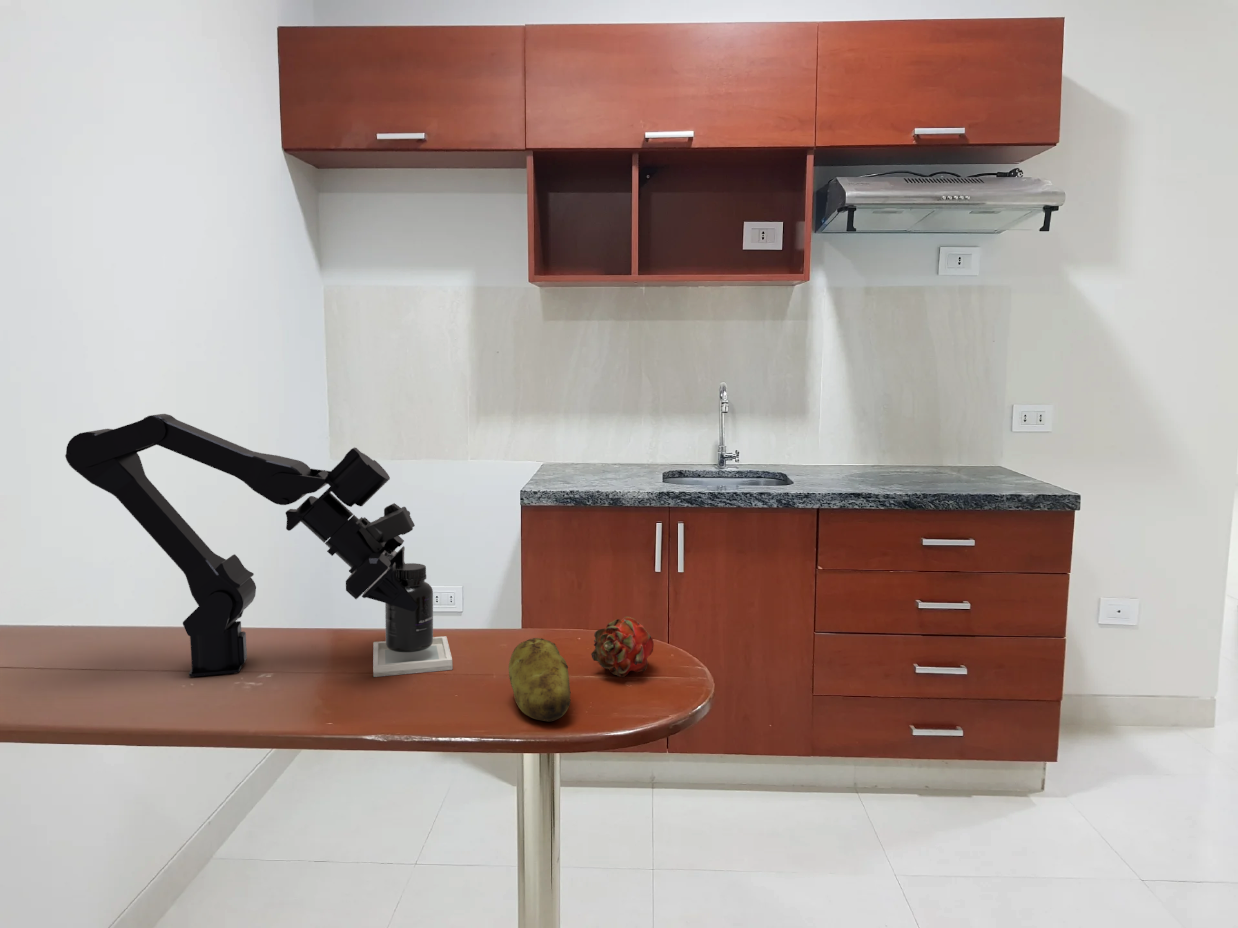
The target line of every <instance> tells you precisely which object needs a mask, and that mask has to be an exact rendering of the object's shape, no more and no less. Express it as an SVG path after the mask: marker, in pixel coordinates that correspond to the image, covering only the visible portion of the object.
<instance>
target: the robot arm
mask: <svg viewBox="0 0 1238 928" xmlns="http://www.w3.org/2000/svg"><path fill="white" fill-rule="evenodd" d="M155 446H159V447H161V448H165V449H167V450H169V451H171V452H174V453H175V454H176V453H177V454H179V455H181V456H184V457H185V458H188V459H191V460H193V461H196V462H199V463H201V464H204V465H206V466H209V467H210V468H212V469H215V470H218V471H221V472H223V473H225V474H228V475H231V476H233V477H235V478H237V479H239V480H240V481H242V482H243V483H244V484H245V485H247V486H248V487H249V488H250V489H251V490H252V491H254V492H255V493H257V494H258V495H260V496H262V497H263V498H264V499H267V500H268V501H270V502H272V503H274V504H276V505H279V506H287V505H291V504H294V503H297V501H299V500H300V499H302V498H304V497H305V496H306V495H308V494H313V493H316V492H318V491H319V490H321V489H322V488H324V487H325V486H326V485H328V486H329V488H327V489H326V490H325V491H324V492H323V493H322V494H321V495H320V496H319V497H316V496H313V495H310V496H308V497H307V499H305V500H304V501H303V502H302V503H301V504H300V505H299V506H298V507H297V508H296V509H295V508H289V509H288V510H286V511H285V515H286V526H285V529H286V530H287V531H292V530H293V529H295V528H296V527H297V526H298V525H299V524H300V523H301V524H303V525H304V526H305V527H306V528H307V529H308V530H309V531H310V532H311V533H312V534H314V535H315V536H316V537H317V538H318V539H319V540H320V541H322V542H323V543H324V544H325V545H326V547H328V550H326V552H327V553H328V554H329V555H331V557H333V556H334V555H335V554H336V556H338V557H339V558H340V559H341V560H342V561H343V562H344V563H345V564H347V565H348V567H350V569H348V572H349V573H350V575H349V576H348V577H347V578H346V580H345V591H346V592H347V593H348V594H349V595H350V596H351V597H353V598H354V599H355V600H357V599H359V597H362V598H363V599H366V598H367V599H370V600H375V601H378V602H381V603H384V604H385V603H387V604H391V605H394V606H397V607H400V608H403V609H406V610H409V611H412V612H413V611H415V610H416V609H417V608H418V604H417V603H416V602H415V600H414V599H413V598H412V596H411V595H410V594H409V593H408V591H407V590H406V589H405V588H404V586H403V585H402V584H401V583H400V581H399V580H398V579H397V578H396V565H399V564H406V562H405V546H404V545H403V544H404V542H405V540H404V539H403V538H402V537H401V536H404V535H406V534H408V533H410V532H411V531H413V529H414V527H415V523H414V521H413V519H412V516H411V511H409V510H408V509H407V507H406V506H402V507H400V506H399V505H398V504H397V503H395V502H394V503H392V504H389V505H388V506H386V507H384V508H383V516H380V517H378V518H377V519H375V520H373V521H370V520H368V518H366V517H363V516H361V517H360V518H358V517H357V516H356V515H355V514H354V513H353V512H352V511H351V510H350V509H349V508H348V507H350V508H351V507H353V506H354V505H356V506H358V507H363V506H364V505H365V504H366V503H367V502H368V501H369V500H370V499H371V498H372V497H373V496H374V495H375V494H376V493H378V491H380V490H381V488H383V486H385V484H387V483H388V482H389V481H390V479H391V478H390V475H389V474H388V472H387V471H386V469H384V467H382V466H381V464H380V463H378V462H377V460H375V459H372V458H371V457H370V456H368V455H367V454H365V453H363V452H362V451H360V450H359V449H358V448H357V447H353V448H351V449H350V450H348V452H347V453H346V454H345V455H344V457H343V458H342V459H341V461H340V462H339V463H337V465H335V466H334V467H333V468H332V469H331V470H326V469H315V468H311V467H309V465H308V464H307V463H305V462H304V461H301V460H298V459H295V458H294V459H293V458H290V457H286V456H280V455H277V454H270V453H262V452H258V451H253V450H251V449H248V448H246V447H244V446H242V445H240V444H237V443H234V442H232V441H229V440H227V439H224V438H222V437H219V436H218V435H214V434H212V433H210V432H208V431H205V430H202V429H200V428H197V427H195V426H192V425H191V424H188V423H186V422H183V421H181V420H178V419H177V418H176V417H175V416H173V415H171V414H167V413H159V414H152V415H148V416H145V417H144V418H143V419H141V420H137V421H135V422H132V423H129V424H126V425H123V426H120V427H116V428H103V429H96V430H92V431H90V430H89V431H85V432H80V433H78V434H75V435H73V436H72V438H71V439H70V440H69V441H68V443H67V445H66V449H65V450H66V452H65V454H64V457H65V460H66V462H67V464H68V465H69V467H71V468H72V469H73V470H74V472H77V473H78V475H80V476H81V477H82V478H84V479H85V480H87V482H89V483H90V484H92V485H94V486H96V487H98V488H99V489H102V490H103V491H106V492H107V493H108V494H111V495H113V496H114V497H115V498H116V499H117V500H118V501H119V502H120V503H121V504H122V506H123V507H124V508H125V509H126V511H128V512H129V514H131V516H132V517H133V518H134V519H135V520H136V521H137V522H138V523H139V525H141V527H142V528H143V529H144V530H145V531H146V532H147V534H148V535H149V536H150V537H151V538H152V539H153V540H154V541H155V542H156V544H157V545H158V546H160V548H161V550H163V551H164V552H165V553H166V555H167V556H168V557H169V558H170V559H171V560H172V561H173V562H174V564H175V565H176V566H177V567H178V569H180V571H182V572H183V574H184V576H185V579H186V581H187V585H188V587H189V590H190V594H191V596H192V598H193V599H194V601H195V602H196V605H198V606H197V607H196V609H194V610H193V611H192V612H191V613H190V614H189V615H188V616H187V618H185V619H184V620H183V621H182V625H183V628H184V630H185V632H186V634H187V636H189V641H190V643H189V644H190V657H191V669H190V671H189V672H188V677H190V678H192V677H205V676H206V677H207V676H214V675H215V676H216V675H226V674H237V673H240V671H241V669H242V667H243V666H244V664H245V663H246V661H247V659H248V655H247V654H248V651H247V650H248V649H247V634H246V633H247V632H245V631H242V620H241V621H239V619H241V617H242V616H243V613H244V611H245V610H246V609H247V608H248V607H249V605H250V604H251V605H252V603H253V602H254V600H255V597H256V592H257V590H256V589H257V585H256V583H255V581H254V579H253V578H252V577H253V576H254V575H255V574H254V572H251V571H250V570H248V568H246V567H245V565H244V564H243V563H242V561H241V559H240V558H239V557H238V556H237V555H236V554H235V553H234V554H232V555H231V556H229V557H228V558H227V559H226V558H224V557H222V556H220V555H218V554H217V553H215V552H214V551H213V550H212V549H211V548H210V547H209V546H208V545H207V544H206V543H205V541H203V539H202V538H201V537H200V536H199V534H197V533H196V531H195V530H194V528H192V527H191V526H190V525H189V523H188V522H187V521H186V520H185V519H184V518H183V517H182V516H181V514H180V513H179V512H178V511H177V510H176V509H175V507H174V506H173V505H172V504H171V503H170V502H169V500H167V499H166V497H165V495H163V494H162V492H160V490H158V488H157V487H156V486H155V485H154V484H153V483H152V481H151V480H149V478H148V477H147V475H146V472H145V469H144V466H143V463H142V460H141V457H140V455H139V453H140V452H142V451H144V450H147V449H149V448H152V447H155ZM331 492H332V493H331ZM346 506H347V507H346ZM400 535H401V536H400ZM402 545H403V546H402ZM401 546H402V547H401ZM398 547H400V549H399V550H397V549H398Z"/></svg>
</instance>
